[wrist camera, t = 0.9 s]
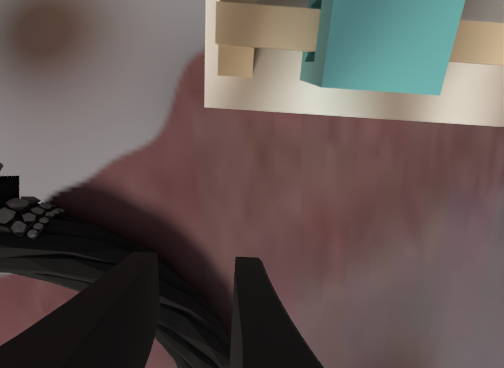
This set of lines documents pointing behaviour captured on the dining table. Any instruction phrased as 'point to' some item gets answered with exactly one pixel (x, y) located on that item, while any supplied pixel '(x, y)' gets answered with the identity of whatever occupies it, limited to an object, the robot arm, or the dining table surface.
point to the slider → (383, 45)
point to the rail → (344, 100)
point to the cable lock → (103, 272)
